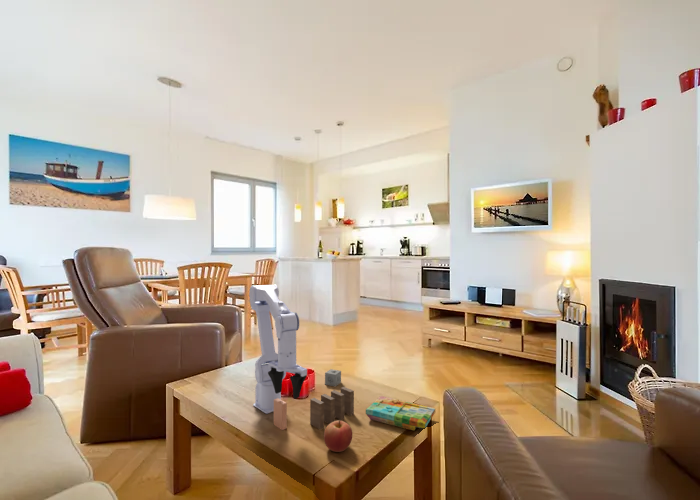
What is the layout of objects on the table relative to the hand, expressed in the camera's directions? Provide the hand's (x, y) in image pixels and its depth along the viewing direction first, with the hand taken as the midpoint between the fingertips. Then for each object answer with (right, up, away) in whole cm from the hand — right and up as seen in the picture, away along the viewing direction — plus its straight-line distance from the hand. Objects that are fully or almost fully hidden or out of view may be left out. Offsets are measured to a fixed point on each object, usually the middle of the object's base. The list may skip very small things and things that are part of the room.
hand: (287, 394), depth 108 cm
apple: (+16, -10, -12) cm, 23 cm away
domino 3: (+12, -10, +4) cm, 17 cm away
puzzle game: (+37, -11, +5) cm, 38 cm away
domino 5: (+19, -10, +10) cm, 24 cm away
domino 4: (+16, -10, +7) cm, 20 cm away
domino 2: (+9, -10, +1) cm, 14 cm away
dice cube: (+13, -11, +36) cm, 40 cm away
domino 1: (-2, -10, +1) cm, 11 cm away
